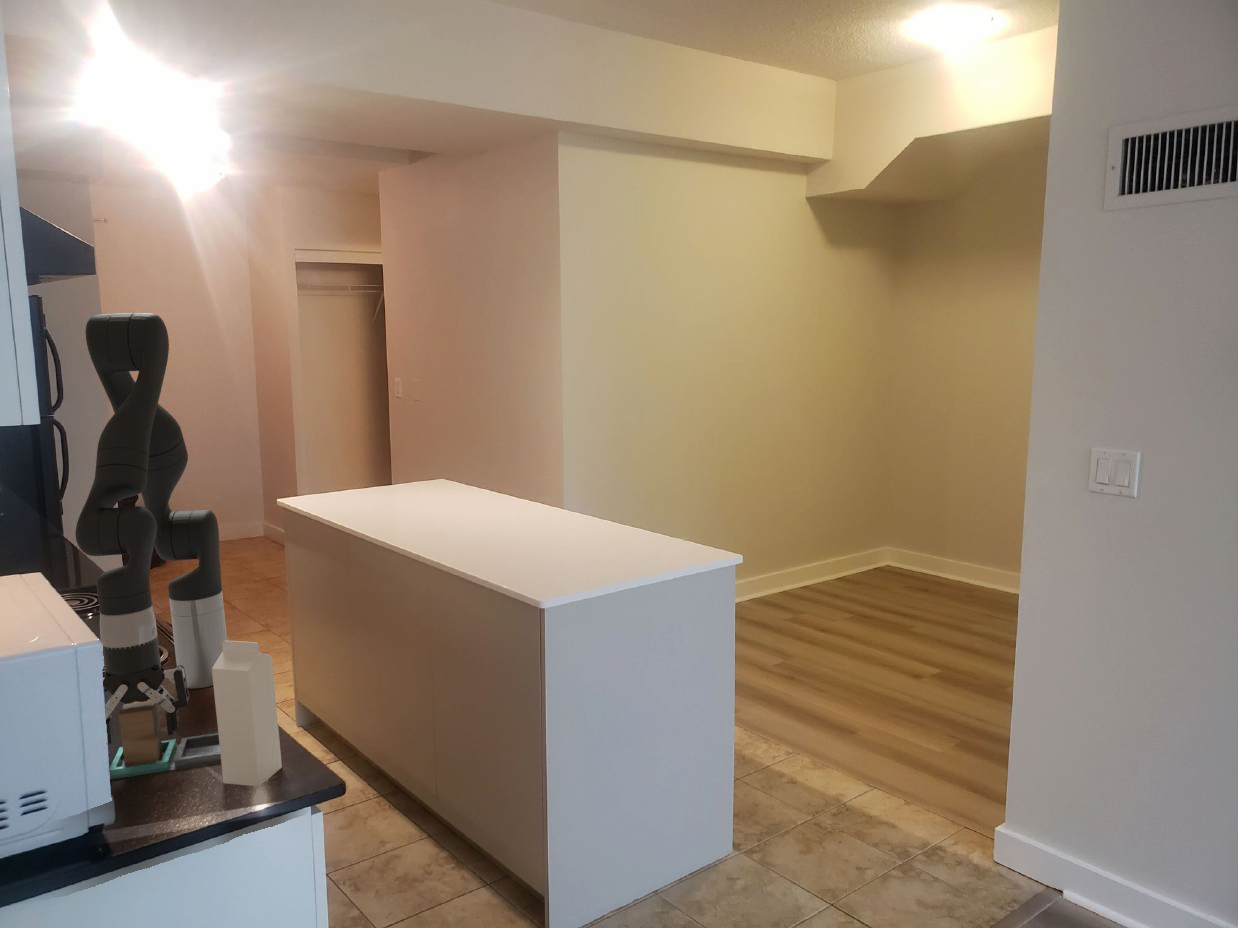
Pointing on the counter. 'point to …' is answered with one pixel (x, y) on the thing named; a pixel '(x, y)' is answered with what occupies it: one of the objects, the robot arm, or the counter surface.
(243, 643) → the milk
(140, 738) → the walnut block
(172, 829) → the counter surface
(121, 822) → the counter surface
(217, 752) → the trays
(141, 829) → the counter surface
